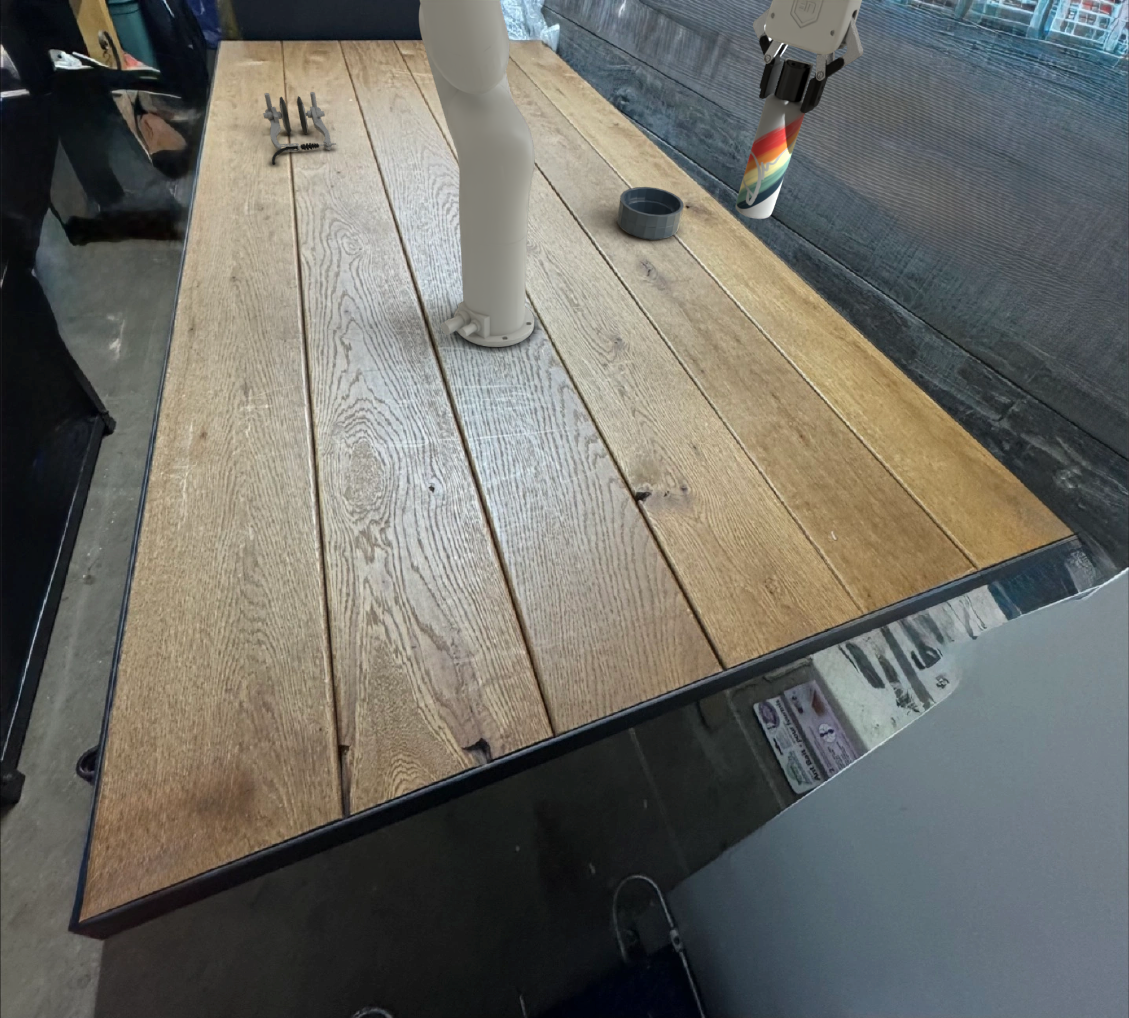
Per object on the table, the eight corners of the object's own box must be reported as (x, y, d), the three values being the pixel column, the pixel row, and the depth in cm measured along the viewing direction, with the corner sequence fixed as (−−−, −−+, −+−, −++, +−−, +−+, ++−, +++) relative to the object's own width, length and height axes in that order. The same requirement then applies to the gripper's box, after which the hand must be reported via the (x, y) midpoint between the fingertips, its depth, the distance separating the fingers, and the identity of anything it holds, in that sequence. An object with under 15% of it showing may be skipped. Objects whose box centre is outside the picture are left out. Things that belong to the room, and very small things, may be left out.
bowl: (655, 248, 123) (660, 222, 120) (604, 225, 128) (607, 199, 124) (689, 227, 130) (695, 202, 126) (639, 206, 134) (644, 181, 131)
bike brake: (261, 121, 144) (275, 174, 135) (254, 88, 138) (267, 141, 129) (325, 119, 148) (342, 170, 139) (321, 87, 142) (338, 138, 133)
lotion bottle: (729, 212, 99) (773, 58, 84) (741, 198, 103) (785, 48, 88) (765, 223, 98) (815, 69, 83) (776, 209, 101) (826, 58, 86)
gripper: (759, -84, 77) (718, 90, 90) (898, -53, 70) (831, 130, 84) (788, -88, 81) (745, 80, 94) (922, -58, 74) (855, 117, 88)
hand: (786, 102), depth 89 cm, fingers closed on lotion bottle, 5 cm apart
